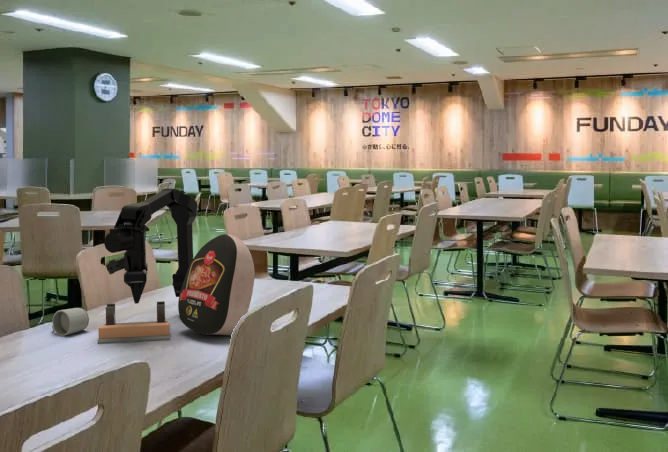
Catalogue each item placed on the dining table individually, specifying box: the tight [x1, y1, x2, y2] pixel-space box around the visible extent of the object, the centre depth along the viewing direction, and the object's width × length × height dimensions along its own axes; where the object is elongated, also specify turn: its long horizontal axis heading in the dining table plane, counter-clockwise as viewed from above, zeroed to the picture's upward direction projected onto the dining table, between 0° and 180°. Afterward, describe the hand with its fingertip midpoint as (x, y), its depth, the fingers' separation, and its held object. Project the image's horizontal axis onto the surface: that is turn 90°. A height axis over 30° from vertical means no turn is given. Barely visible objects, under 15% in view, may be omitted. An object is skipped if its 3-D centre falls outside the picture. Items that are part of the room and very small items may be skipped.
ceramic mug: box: [51, 307, 90, 337], centre depth 208 cm, size 11×8×8 cm
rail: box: [97, 322, 171, 339], centre depth 203 cm, size 20×3×3 cm, turn 104°
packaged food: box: [177, 233, 256, 336], centre depth 207 cm, size 22×20×30 cm
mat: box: [97, 328, 171, 345], centre depth 203 cm, size 20×10×1 cm, turn 104°
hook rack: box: [103, 300, 168, 326], centre depth 213 cm, size 19×7×8 cm, turn 104°
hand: (137, 299), depth 204 cm, fingers open, 9 cm apart
